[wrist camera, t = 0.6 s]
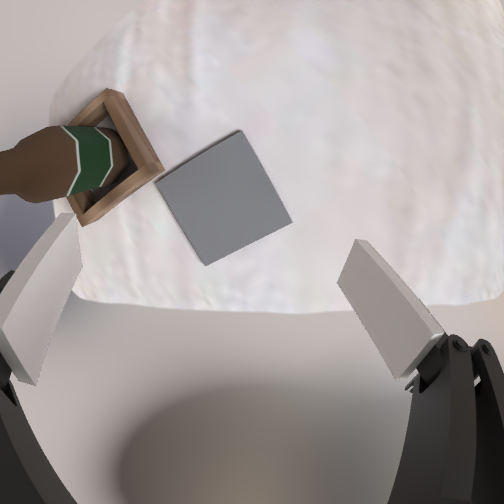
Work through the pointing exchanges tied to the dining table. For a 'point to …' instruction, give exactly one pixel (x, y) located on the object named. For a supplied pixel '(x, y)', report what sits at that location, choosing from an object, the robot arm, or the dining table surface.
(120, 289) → the dining table surface
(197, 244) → the coaster
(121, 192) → the caddy
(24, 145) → the beer bottle
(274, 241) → the dining table surface
